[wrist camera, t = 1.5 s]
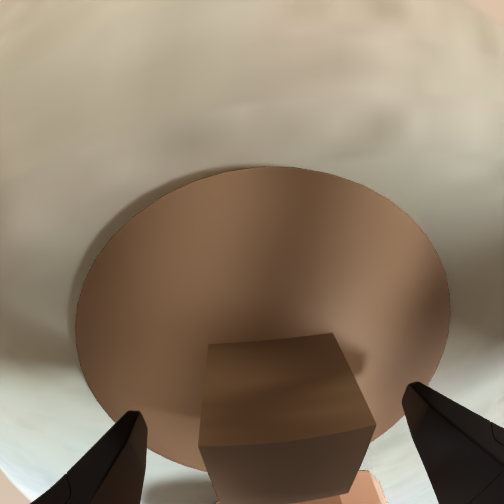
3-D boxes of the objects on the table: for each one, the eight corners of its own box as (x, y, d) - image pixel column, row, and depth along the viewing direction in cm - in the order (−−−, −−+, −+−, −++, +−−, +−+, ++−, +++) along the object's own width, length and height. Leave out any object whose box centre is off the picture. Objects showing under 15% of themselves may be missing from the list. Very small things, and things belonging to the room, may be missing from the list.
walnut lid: (457, 168, 9) (564, 194, 4) (396, 436, 13) (427, 501, 9) (46, 195, 8) (-61, 237, 4) (143, 461, 13) (129, 533, 8)
